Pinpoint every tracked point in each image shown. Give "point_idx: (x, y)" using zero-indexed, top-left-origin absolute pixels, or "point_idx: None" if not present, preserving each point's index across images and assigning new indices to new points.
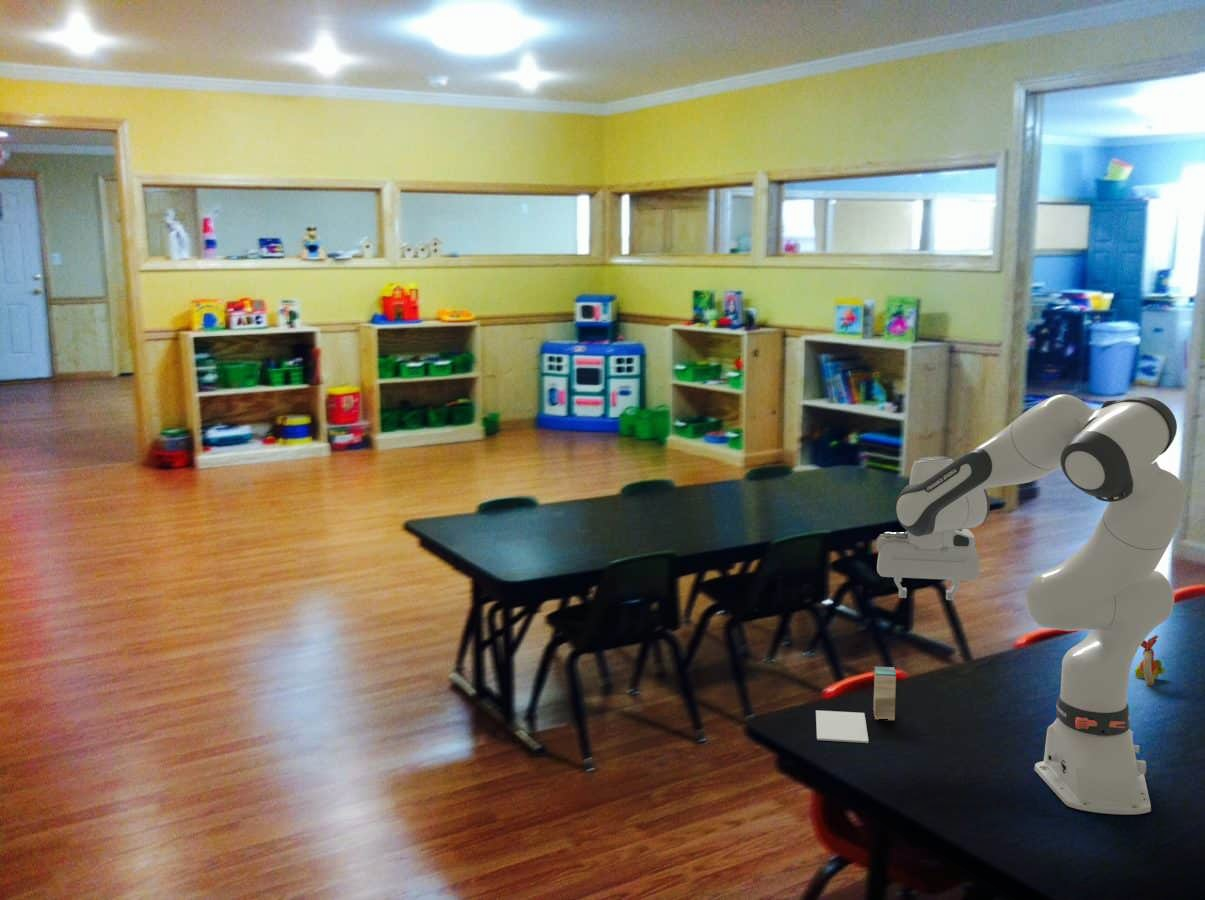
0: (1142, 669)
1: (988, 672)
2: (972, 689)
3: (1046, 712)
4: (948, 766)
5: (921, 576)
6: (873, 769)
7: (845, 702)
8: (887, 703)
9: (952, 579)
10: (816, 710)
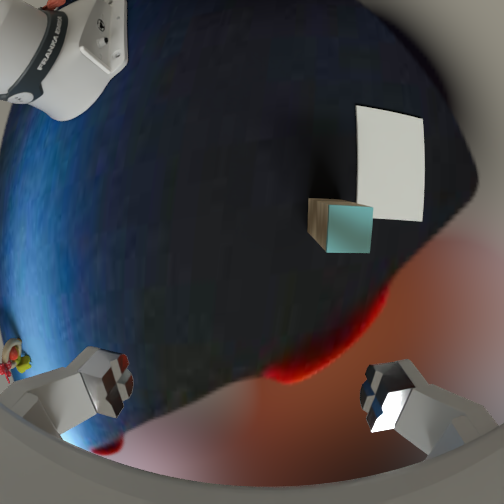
0: (15, 349)
1: (151, 388)
2: (169, 337)
3: (82, 262)
4: (240, 44)
5: (315, 502)
6: (346, 33)
7: (376, 265)
8: (328, 200)
9: (13, 412)
10: (421, 220)
